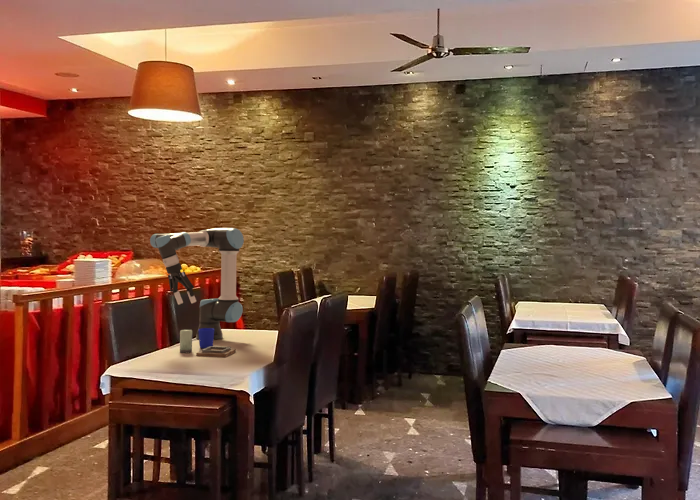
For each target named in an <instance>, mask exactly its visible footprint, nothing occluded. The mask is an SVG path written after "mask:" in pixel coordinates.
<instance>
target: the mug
mask: <svg viewBox="0 0 700 500" xmlns="http://www.w3.org/2000/svg"><path fill="white" fill-rule="evenodd" d="M213 338H214V329H213V328H201V329H199V339H198V341H199V342H198V344H199V348H200V349H205V348H208V347H210V346H213V347H214V340H213Z"/></svg>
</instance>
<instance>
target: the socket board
mask: <svg viewBox="0 0 700 500" xmlns="http://www.w3.org/2000/svg"><path fill="white" fill-rule="evenodd" d="M236 350H237V349H236V348H232V347H230V346H214V345H213V346H210V347H208V348H205V349H204V348H202V349H201V350H200V351H197V352H195V353H196V357H214V358H216V357H217V358H226V357H228V356H229V357H230V356H231V355H233V354H235V353H236V352H237V351H236Z"/></svg>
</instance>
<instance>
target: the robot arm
mask: <svg viewBox="0 0 700 500" xmlns="http://www.w3.org/2000/svg"><path fill="white" fill-rule="evenodd" d="M243 235H244V234H243V233H242V231H241V230H240V229H238V228H235V227H215V228H210V229H202V230H199V231H197V232H196V231H195V232H194V231H193V232H192V231H191V232H186V231H182V232H174V233H154V234H152V235H151V236H150V238H149V241H150V245H151V247H153V248H154V249H158V252H159V255H160V257H161V259H162V263H163V264H164V266H165V270H166V272H167V273H166V274H168V275H167V278H168V282H169V290H170V291H169V292H170V293H172V294H173V295H174V298H175V300H176V303H177V305H178V306H179V305H181V304H183V303H184V301H183V298H182V296H181V293H180V291H179V289H178V287H179V284H181V285H182V286H183V287H184V289H186V293H187V295H188V298H189V301H190V303H191V304H195V303H196V302H197V298H196V297H195V294H194V291H193V289H194V288H195V287H194V285H193V283H192V282H191V280H190V279H189V278H188V275H187V274H186V272H185V271H182V270H183V267H182V265H181V263H180V260H179V257H178V254H177V251H179V250H181V249H183V248H186V247H196V246H199V247H201V248H205V247H206V248H207V247H208V248H214V249H215V248H216V249H218V252H219V253H220V254H221V256H220V257H221V258H220V259H221V261H220V262H221V264H220V267H221V269H220V296H219V297H218V298H209V299H208V298H207V299H201V300H200V301H199V302H200V303H199V308H198V309H199V325H198V329H197V331H196V339H197V340H199V329H201V328H213V329H214V338H213V341H214V340H220V339H223V337H224V335H223V331H222V328H221V325H220V324H221V323H220V322H226V323H236V322H238V321H239V320H240V319H241V317H242V315H243V313H244V310H243V305H242V303H240V301H239V297H238V296H237V255H238V254H239V253H240V249H241V248H242V247H243V245H244V241H245V239H244V236H243ZM181 271H182V272H181Z"/></svg>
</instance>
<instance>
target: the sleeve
mask: <svg viewBox="0 0 700 500" xmlns="http://www.w3.org/2000/svg"><path fill="white" fill-rule="evenodd" d="M192 352H193V330H192V329H181V330H179V353H180V354H190V353H192Z"/></svg>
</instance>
